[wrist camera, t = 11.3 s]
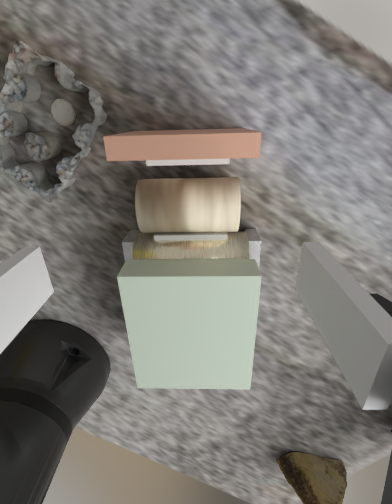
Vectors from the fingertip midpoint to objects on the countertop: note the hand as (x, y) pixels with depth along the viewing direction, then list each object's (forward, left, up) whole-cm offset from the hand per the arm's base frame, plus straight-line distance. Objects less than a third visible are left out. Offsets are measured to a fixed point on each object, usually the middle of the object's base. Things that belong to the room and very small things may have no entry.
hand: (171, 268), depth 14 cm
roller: (0, 0, -15) cm, 15 cm away
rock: (+20, -49, -15) cm, 55 cm away
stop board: (0, +5, -15) cm, 16 cm away
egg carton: (-12, +6, -16) cm, 20 cm away
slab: (0, -12, -10) cm, 16 cm away
